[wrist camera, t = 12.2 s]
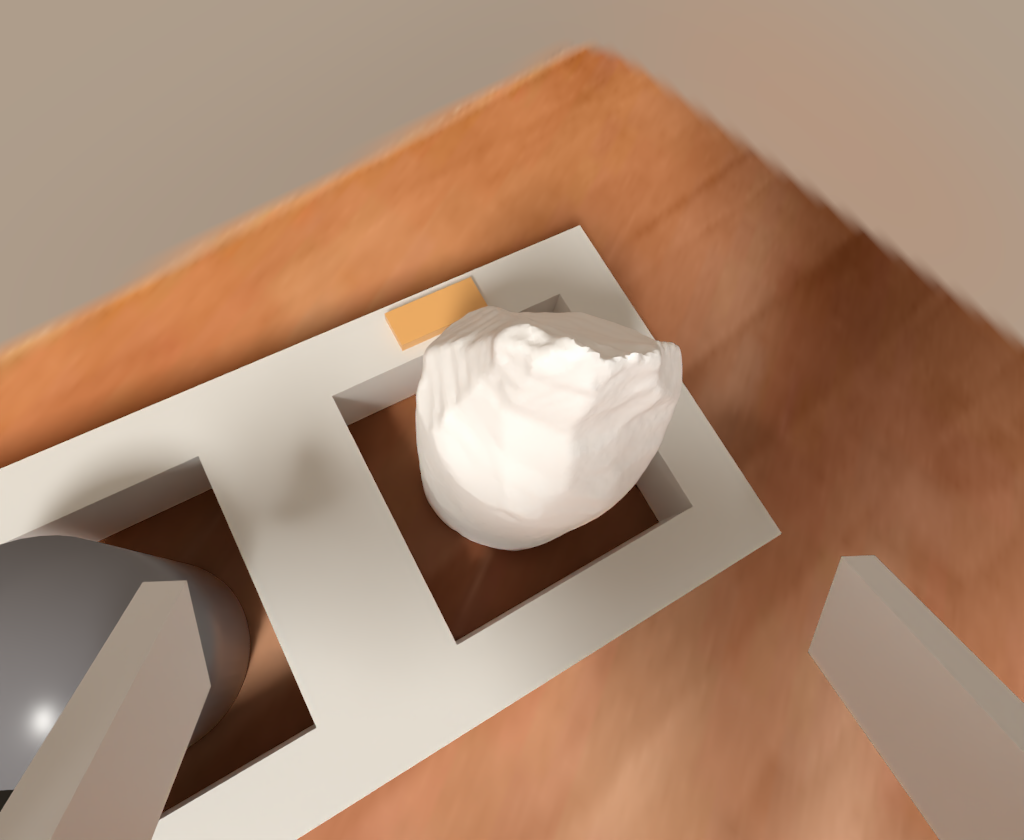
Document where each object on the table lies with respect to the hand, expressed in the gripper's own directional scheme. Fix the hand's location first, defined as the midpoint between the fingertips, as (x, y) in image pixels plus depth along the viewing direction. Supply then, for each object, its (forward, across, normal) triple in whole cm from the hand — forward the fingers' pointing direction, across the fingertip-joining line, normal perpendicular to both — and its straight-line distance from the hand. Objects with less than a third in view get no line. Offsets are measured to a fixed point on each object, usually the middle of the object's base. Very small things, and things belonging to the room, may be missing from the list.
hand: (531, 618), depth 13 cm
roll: (+9, +1, -2) cm, 9 cm away
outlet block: (+7, -5, -4) cm, 9 cm away
